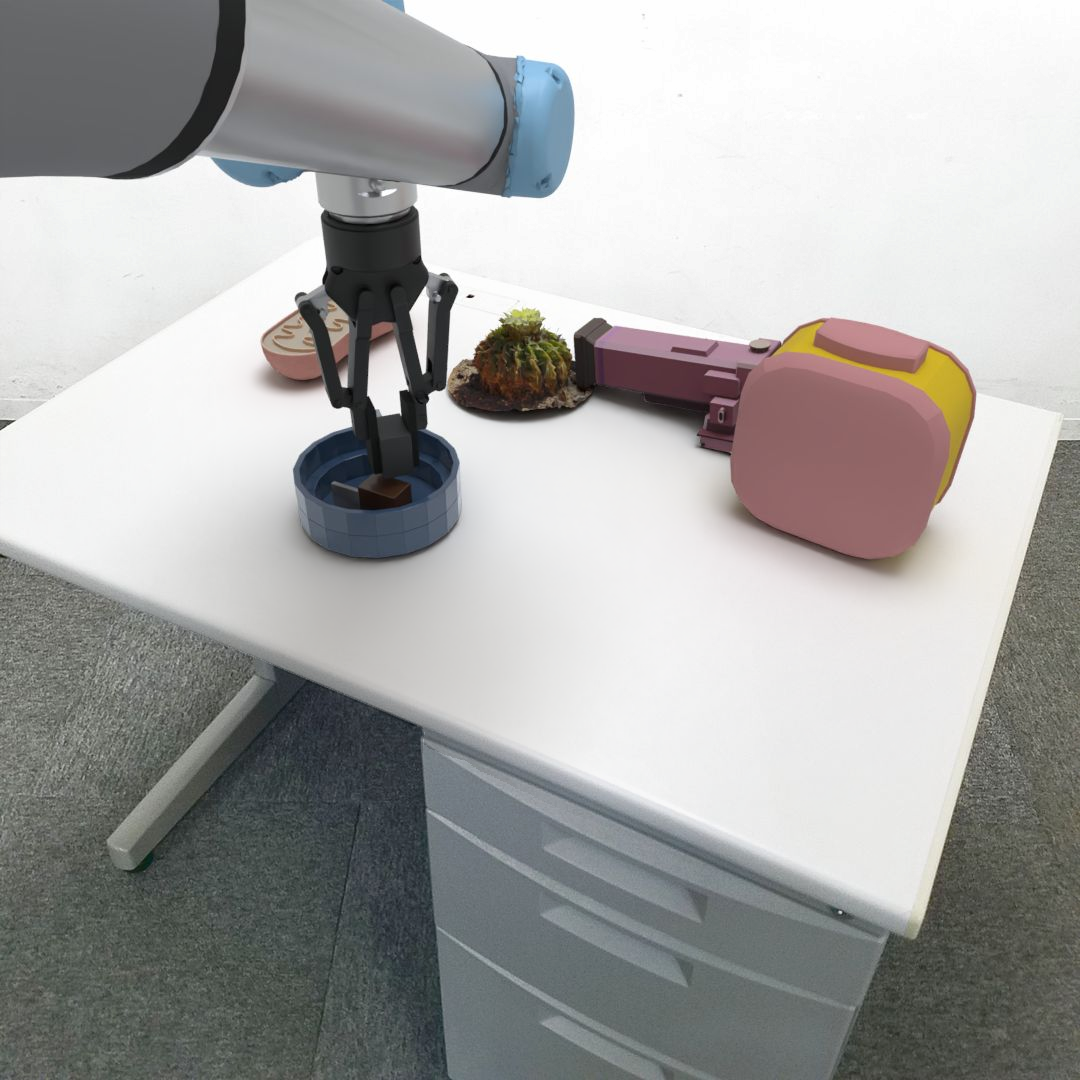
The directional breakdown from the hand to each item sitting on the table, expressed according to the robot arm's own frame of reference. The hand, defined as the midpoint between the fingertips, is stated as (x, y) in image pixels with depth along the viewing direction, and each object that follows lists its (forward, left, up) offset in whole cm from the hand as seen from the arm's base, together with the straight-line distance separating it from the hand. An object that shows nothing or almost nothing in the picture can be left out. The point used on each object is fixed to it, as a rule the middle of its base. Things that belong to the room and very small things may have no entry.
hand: (393, 462), depth 88 cm
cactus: (+27, +7, -6) cm, 29 cm away
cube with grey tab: (+1, +2, 0) cm, 2 cm away
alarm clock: (+26, -32, -6) cm, 42 cm away
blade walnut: (-2, +2, -6) cm, 6 cm away
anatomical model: (+19, +30, -7) cm, 36 cm away
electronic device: (+34, -11, -6) cm, 36 cm away
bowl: (-1, +2, -6) cm, 7 cm away
